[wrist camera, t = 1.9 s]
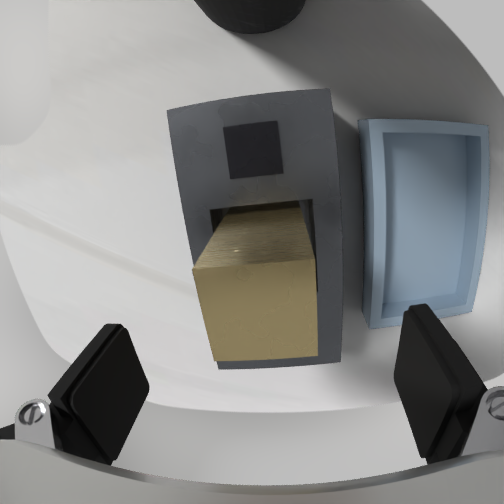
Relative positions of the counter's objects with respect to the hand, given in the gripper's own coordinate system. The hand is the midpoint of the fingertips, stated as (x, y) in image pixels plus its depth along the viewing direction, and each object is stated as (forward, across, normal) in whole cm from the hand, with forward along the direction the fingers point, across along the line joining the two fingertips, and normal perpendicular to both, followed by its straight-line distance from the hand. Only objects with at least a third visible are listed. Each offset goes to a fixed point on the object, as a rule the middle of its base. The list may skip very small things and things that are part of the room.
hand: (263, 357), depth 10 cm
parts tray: (+12, -11, 0) cm, 16 cm away
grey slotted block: (+12, 0, -1) cm, 12 cm away
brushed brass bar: (+10, 0, -1) cm, 10 cm away
